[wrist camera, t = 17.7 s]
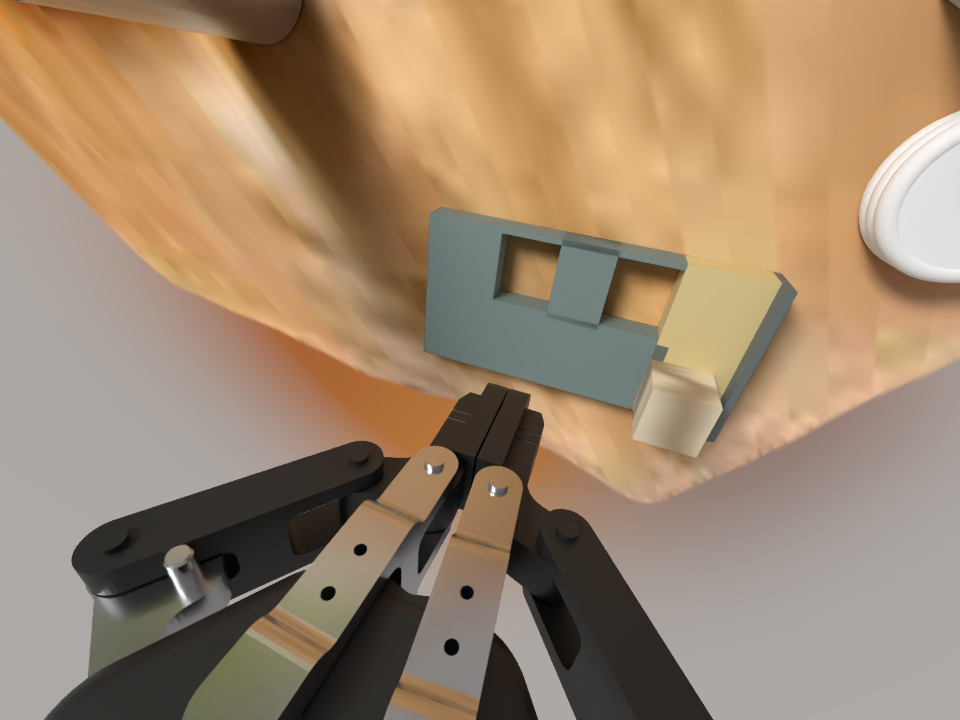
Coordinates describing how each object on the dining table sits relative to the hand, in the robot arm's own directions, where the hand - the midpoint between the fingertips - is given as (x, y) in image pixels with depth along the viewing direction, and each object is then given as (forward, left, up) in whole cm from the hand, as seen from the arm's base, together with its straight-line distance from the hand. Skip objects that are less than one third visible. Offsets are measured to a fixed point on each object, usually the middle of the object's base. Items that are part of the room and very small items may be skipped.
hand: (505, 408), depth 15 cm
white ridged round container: (+22, +7, -26) cm, 34 cm away
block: (+11, -11, -22) cm, 27 cm away
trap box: (+1, -7, -25) cm, 26 cm away
